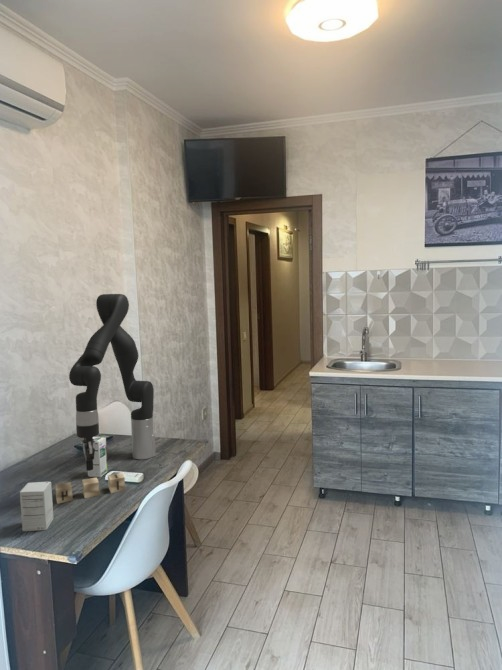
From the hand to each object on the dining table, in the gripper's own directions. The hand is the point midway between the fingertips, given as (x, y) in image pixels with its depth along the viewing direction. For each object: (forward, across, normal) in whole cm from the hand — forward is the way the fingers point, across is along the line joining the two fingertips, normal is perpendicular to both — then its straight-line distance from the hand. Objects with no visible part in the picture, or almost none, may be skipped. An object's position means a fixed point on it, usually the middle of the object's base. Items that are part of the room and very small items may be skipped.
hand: (89, 469), depth 173 cm
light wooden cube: (+9, 0, +9) cm, 13 cm away
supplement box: (+9, -16, +18) cm, 26 cm away
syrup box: (+9, +18, -5) cm, 21 cm away
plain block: (+9, 0, 0) cm, 9 cm away
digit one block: (+9, 0, -9) cm, 13 cm away
